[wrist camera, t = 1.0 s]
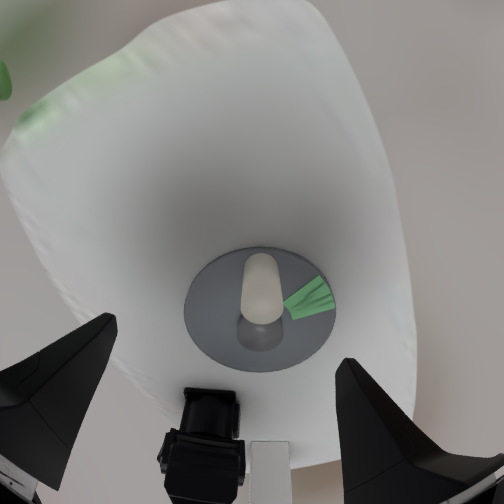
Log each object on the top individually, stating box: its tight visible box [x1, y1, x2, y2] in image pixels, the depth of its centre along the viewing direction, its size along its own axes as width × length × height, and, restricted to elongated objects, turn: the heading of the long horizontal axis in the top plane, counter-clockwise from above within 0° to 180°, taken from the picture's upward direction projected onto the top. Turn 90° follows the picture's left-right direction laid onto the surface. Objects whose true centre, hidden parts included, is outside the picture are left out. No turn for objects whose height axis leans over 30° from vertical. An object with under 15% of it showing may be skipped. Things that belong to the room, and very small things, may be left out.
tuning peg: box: [237, 253, 284, 352], centre depth 20 cm, size 9×4×6 cm, turn 0°
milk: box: [249, 442, 292, 504], centre depth 27 cm, size 6×6×22 cm
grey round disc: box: [184, 247, 336, 372], centre depth 25 cm, size 14×14×1 cm
